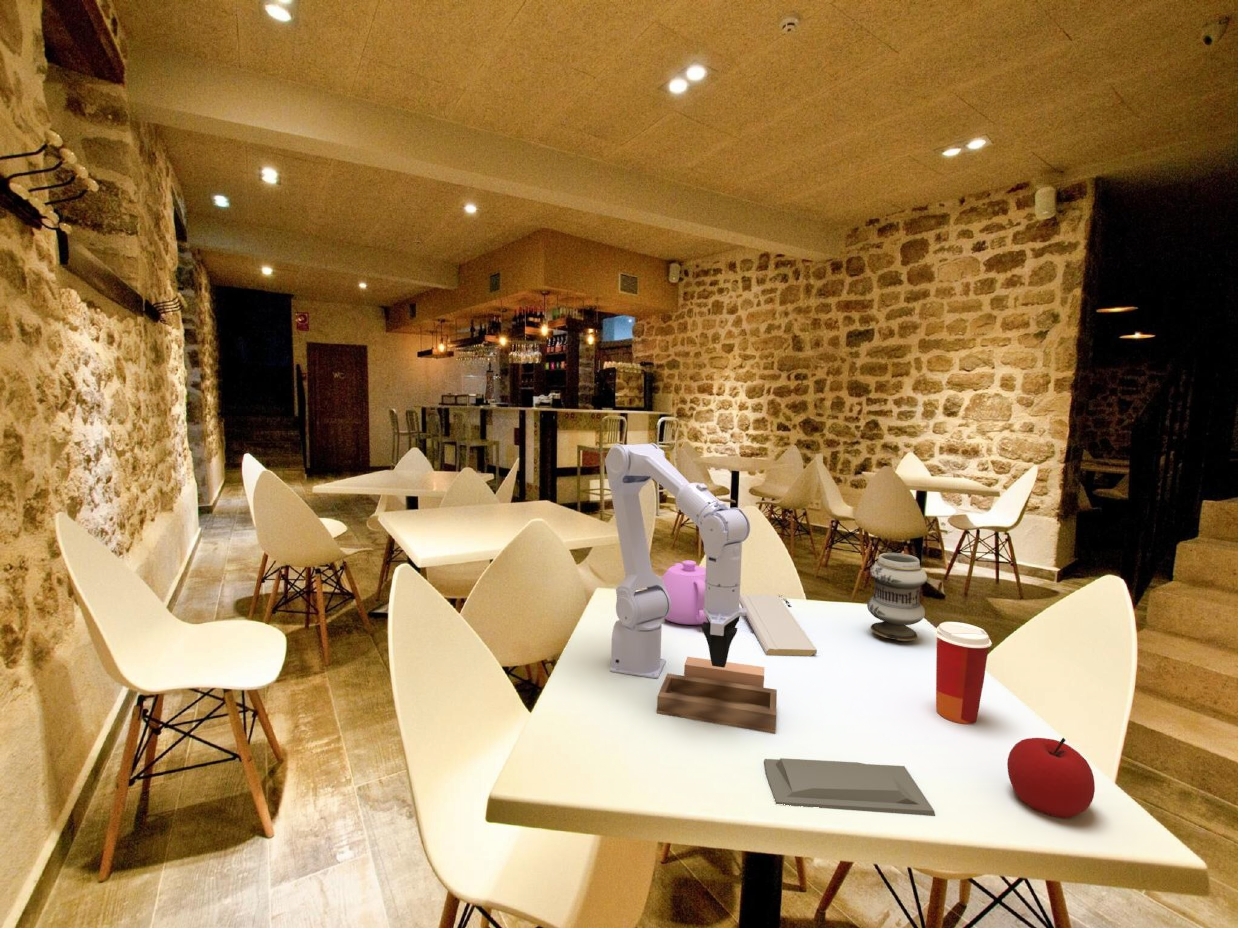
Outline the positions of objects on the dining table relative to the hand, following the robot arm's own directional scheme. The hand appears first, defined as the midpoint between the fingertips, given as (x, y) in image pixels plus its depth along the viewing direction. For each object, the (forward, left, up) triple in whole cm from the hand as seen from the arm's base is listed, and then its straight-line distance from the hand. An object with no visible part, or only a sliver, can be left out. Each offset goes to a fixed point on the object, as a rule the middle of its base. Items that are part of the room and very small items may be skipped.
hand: (719, 660), depth 96 cm
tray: (0, 0, -9) cm, 9 cm away
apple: (+44, -10, -9) cm, 46 cm away
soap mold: (+18, -16, -10) cm, 26 cm away
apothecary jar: (+35, +48, -9) cm, 60 cm away
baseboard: (+15, +44, -8) cm, 47 cm away
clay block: (0, +8, -9) cm, 12 cm away
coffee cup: (+39, +12, -9) cm, 42 cm away
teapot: (-10, +44, -9) cm, 46 cm away
